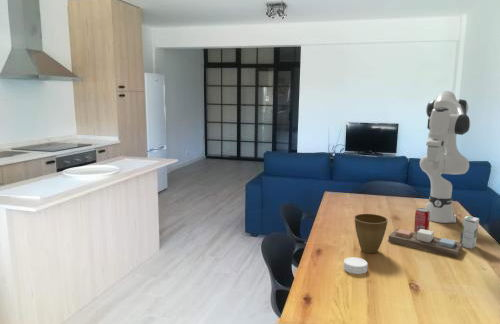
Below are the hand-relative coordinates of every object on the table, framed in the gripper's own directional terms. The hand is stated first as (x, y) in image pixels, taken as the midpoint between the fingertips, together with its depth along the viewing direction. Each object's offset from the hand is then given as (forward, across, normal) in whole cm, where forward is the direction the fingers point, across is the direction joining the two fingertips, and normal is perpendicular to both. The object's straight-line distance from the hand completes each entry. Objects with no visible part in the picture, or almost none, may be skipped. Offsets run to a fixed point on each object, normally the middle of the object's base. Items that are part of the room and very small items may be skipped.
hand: (435, 168), depth 186 cm
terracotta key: (+36, +8, -10) cm, 39 cm away
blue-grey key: (+36, +8, +10) cm, 39 cm away
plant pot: (+37, +32, -19) cm, 53 cm away
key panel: (+37, +8, 0) cm, 38 cm away
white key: (+34, +8, 0) cm, 35 cm away
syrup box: (+37, -4, +17) cm, 41 cm away
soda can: (+37, -9, -6) cm, 39 cm away
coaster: (+38, +55, -16) cm, 68 cm away
